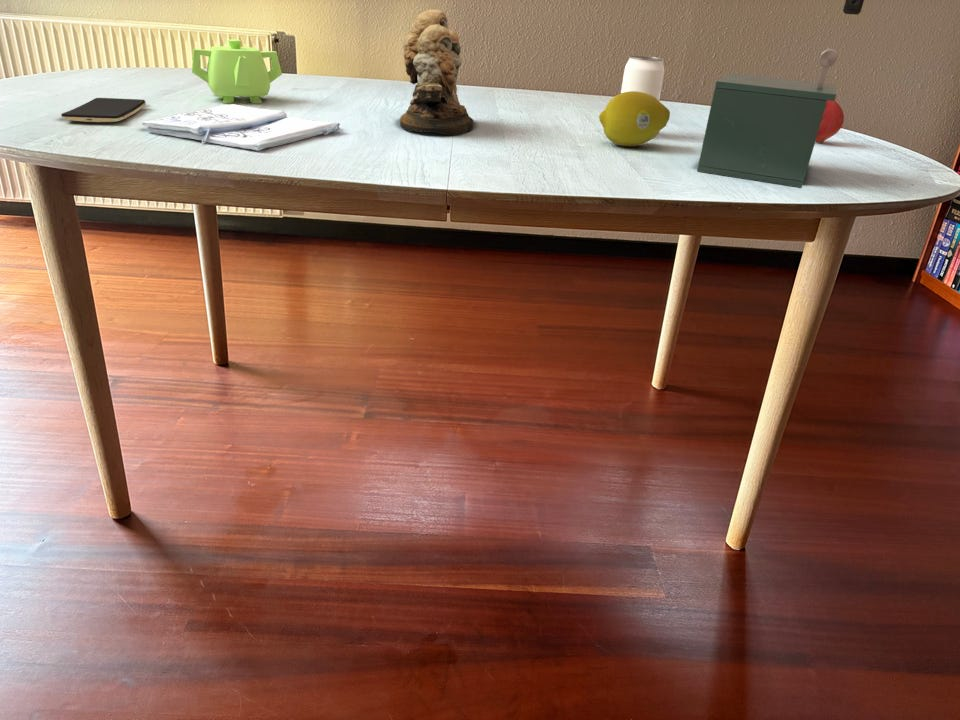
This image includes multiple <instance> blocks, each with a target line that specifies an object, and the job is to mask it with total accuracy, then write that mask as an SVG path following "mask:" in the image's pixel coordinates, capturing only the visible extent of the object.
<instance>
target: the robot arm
mask: <svg viewBox="0 0 960 720" xmlns="http://www.w3.org/2000/svg"><path fill="white" fill-rule="evenodd" d="M864 1H865V0H845V2H844V5H843V8H842V12H843V14H845V15H859V14H860V13H861V12H862V9H863V5H864V3H865V2H864Z"/></svg>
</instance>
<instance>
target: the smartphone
mask: <svg viewBox="0 0 960 720" xmlns="http://www.w3.org/2000/svg"><path fill="white" fill-rule="evenodd" d="M146 104H147V102H146V100H145V99H140V98H139V99H138V98H137V99H136V98H113V97H95V98H92V99H91V100H90V101H87V102H86V103H83V104H81V105H79V106H77V107H75V108H73V109H70V110H67V111H64V112H62V113H61V114H60V115H61V119H62V120H66V121H73V122H83V123H113V122H120V121H123V120H124V119H127V118H129V117H131V116H133V115H134V114H136V113H137V112H139V111H141V109H142V108H144V107H145V106H146Z"/></svg>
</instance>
